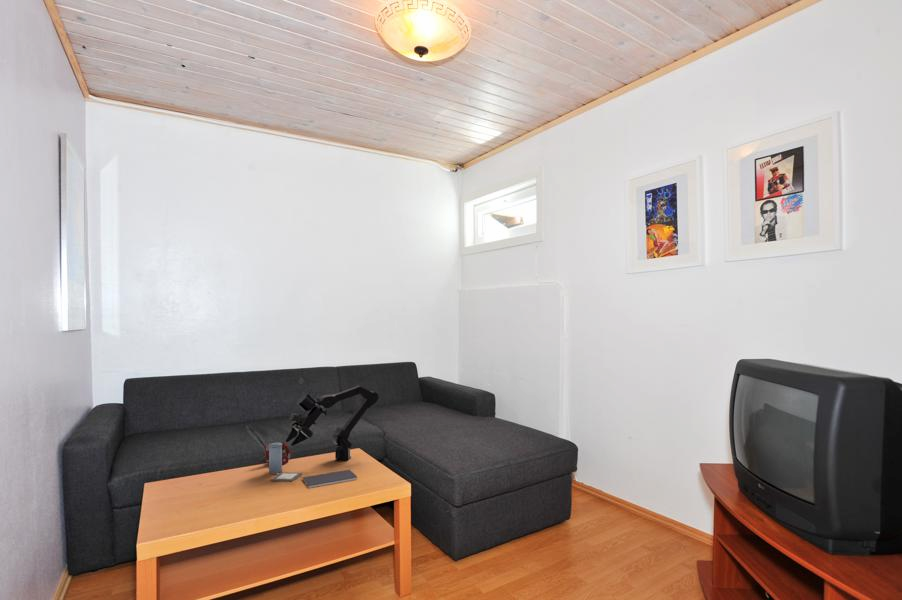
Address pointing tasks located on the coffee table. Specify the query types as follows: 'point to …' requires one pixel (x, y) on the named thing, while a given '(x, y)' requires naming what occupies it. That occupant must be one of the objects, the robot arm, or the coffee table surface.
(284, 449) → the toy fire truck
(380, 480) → the coffee table surface
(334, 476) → the notebook
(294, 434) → the robot arm
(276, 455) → the vase
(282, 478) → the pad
